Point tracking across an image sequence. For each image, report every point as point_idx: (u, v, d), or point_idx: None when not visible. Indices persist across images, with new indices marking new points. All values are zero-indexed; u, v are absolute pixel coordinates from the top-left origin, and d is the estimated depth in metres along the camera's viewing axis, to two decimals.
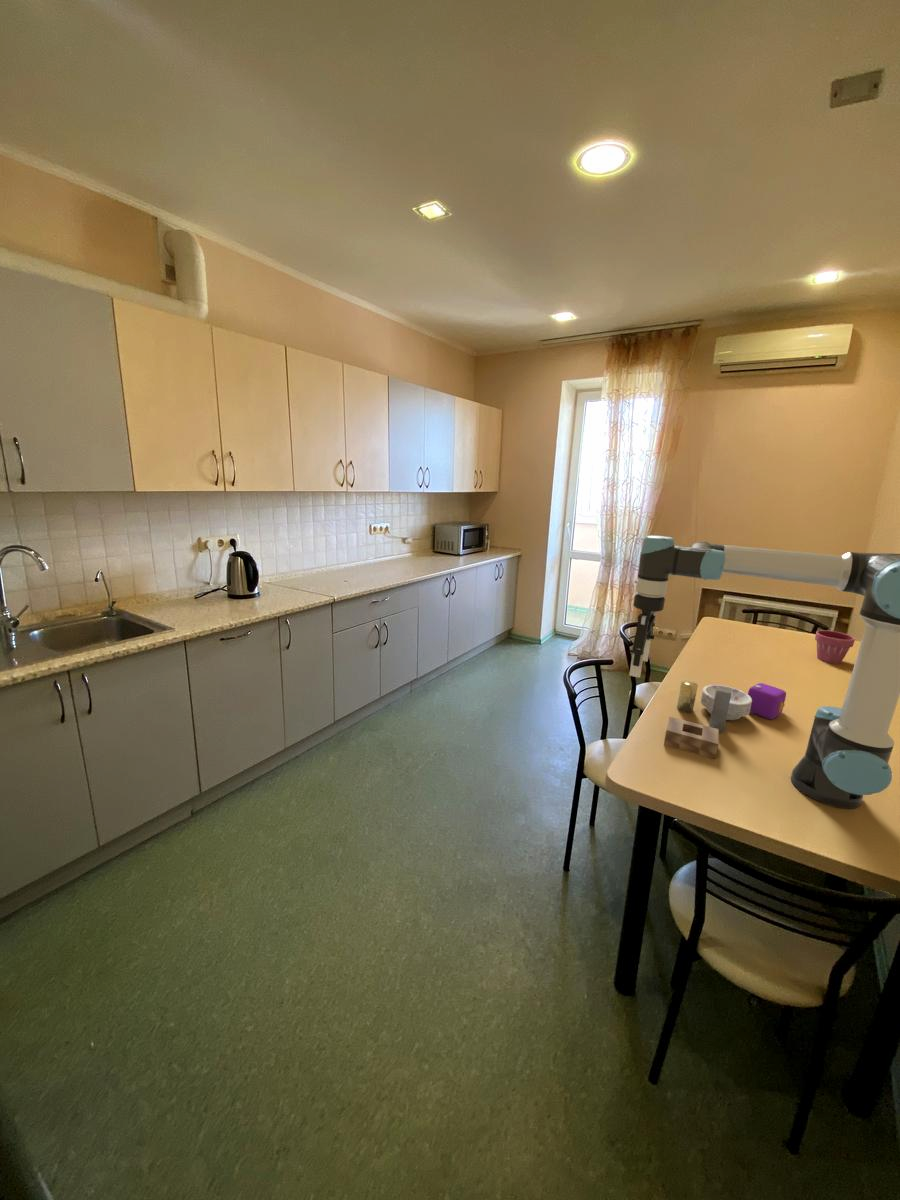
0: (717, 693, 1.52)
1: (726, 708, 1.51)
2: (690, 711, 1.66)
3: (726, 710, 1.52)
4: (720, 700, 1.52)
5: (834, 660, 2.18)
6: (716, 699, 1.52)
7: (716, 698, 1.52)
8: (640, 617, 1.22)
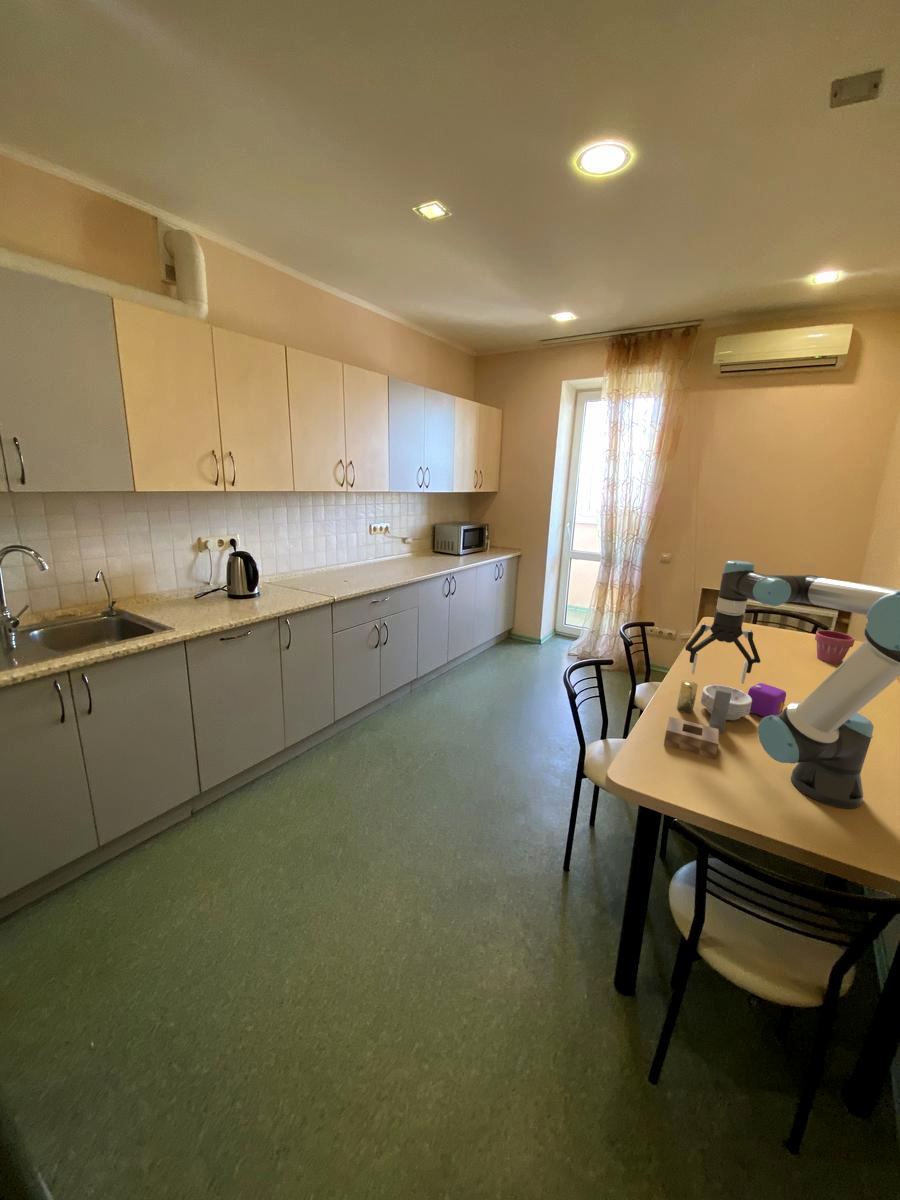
0: (717, 693, 1.52)
1: (726, 708, 1.51)
2: (690, 711, 1.66)
3: (726, 710, 1.52)
4: (720, 700, 1.52)
5: (834, 660, 2.18)
6: (716, 699, 1.52)
7: (716, 698, 1.52)
8: (702, 623, 1.46)
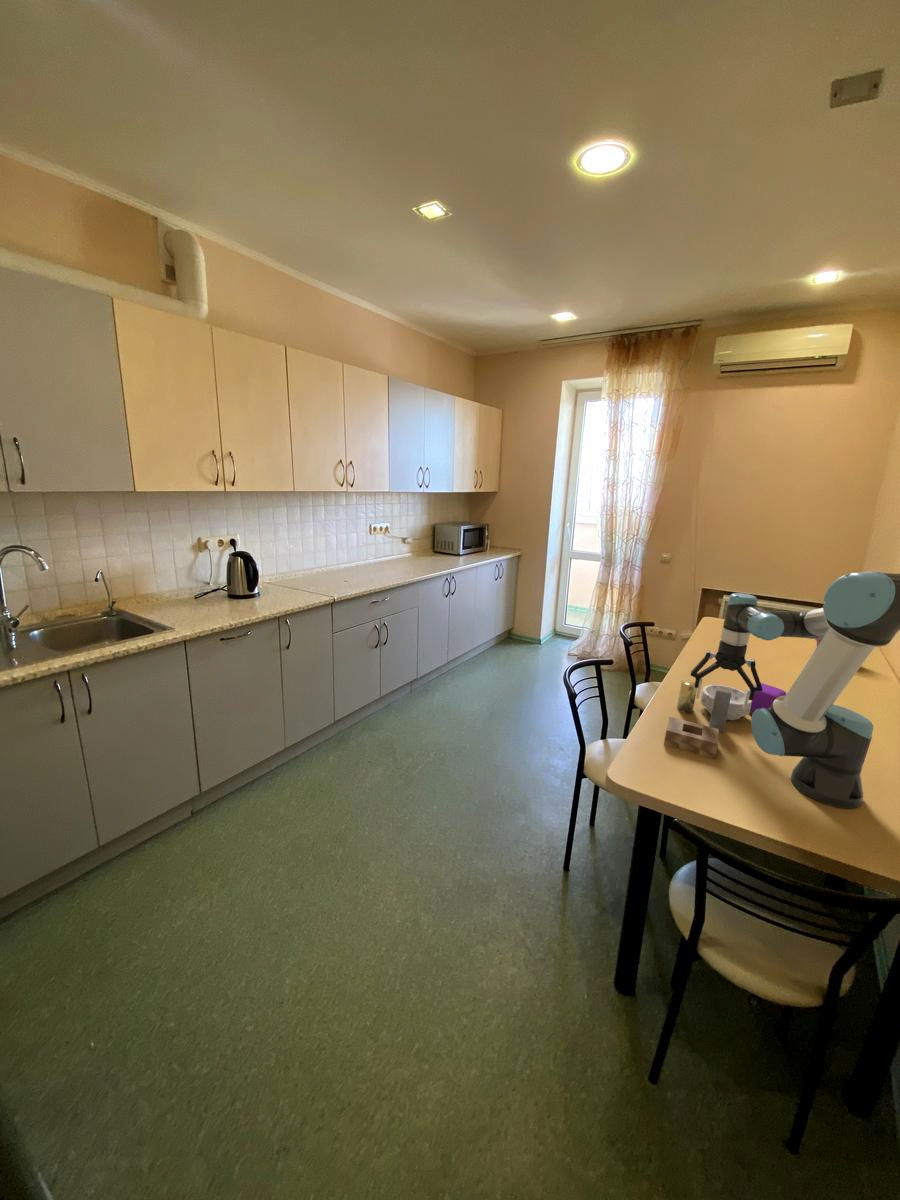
0: (717, 693, 1.52)
1: (726, 708, 1.51)
2: (690, 711, 1.66)
3: (726, 710, 1.52)
4: (720, 700, 1.52)
5: None
6: (716, 699, 1.52)
7: (716, 698, 1.52)
8: (707, 651, 1.53)
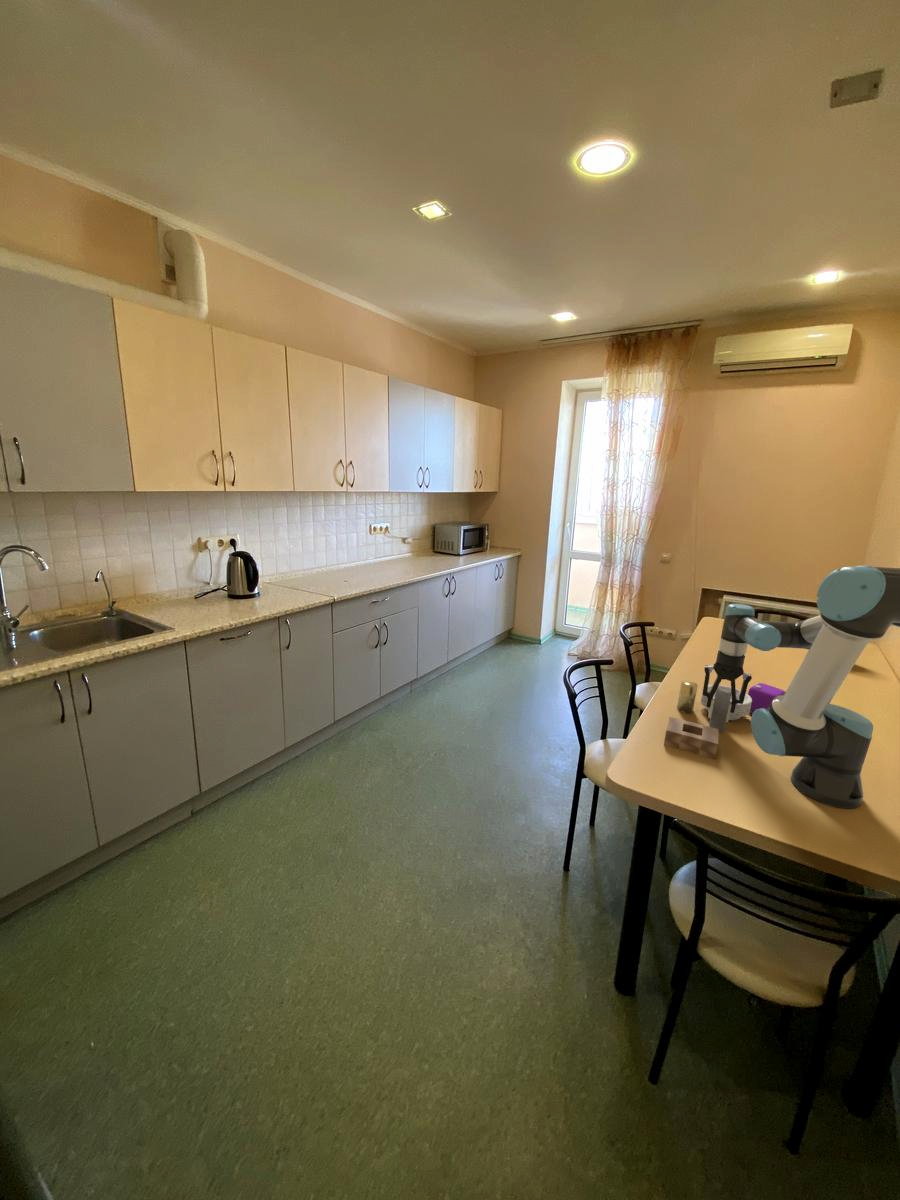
0: (717, 693, 1.52)
1: (726, 708, 1.51)
2: (690, 711, 1.66)
3: (726, 710, 1.52)
4: (720, 700, 1.52)
5: None
6: (716, 699, 1.52)
7: (716, 698, 1.52)
8: None
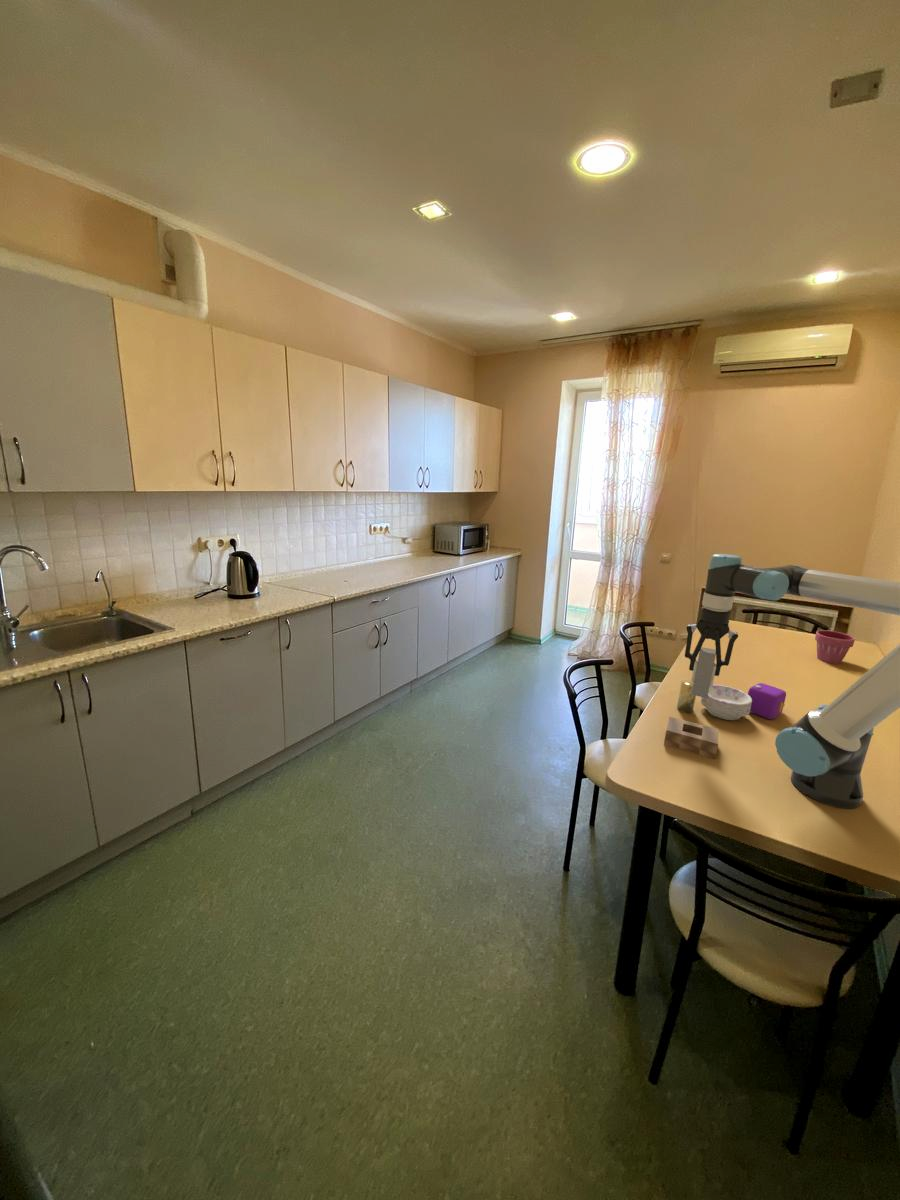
0: (700, 654, 1.38)
1: (710, 670, 1.37)
2: (690, 711, 1.66)
3: (710, 673, 1.37)
4: (703, 662, 1.38)
5: (834, 660, 2.18)
6: (699, 661, 1.38)
7: (700, 660, 1.38)
8: (687, 625, 1.40)
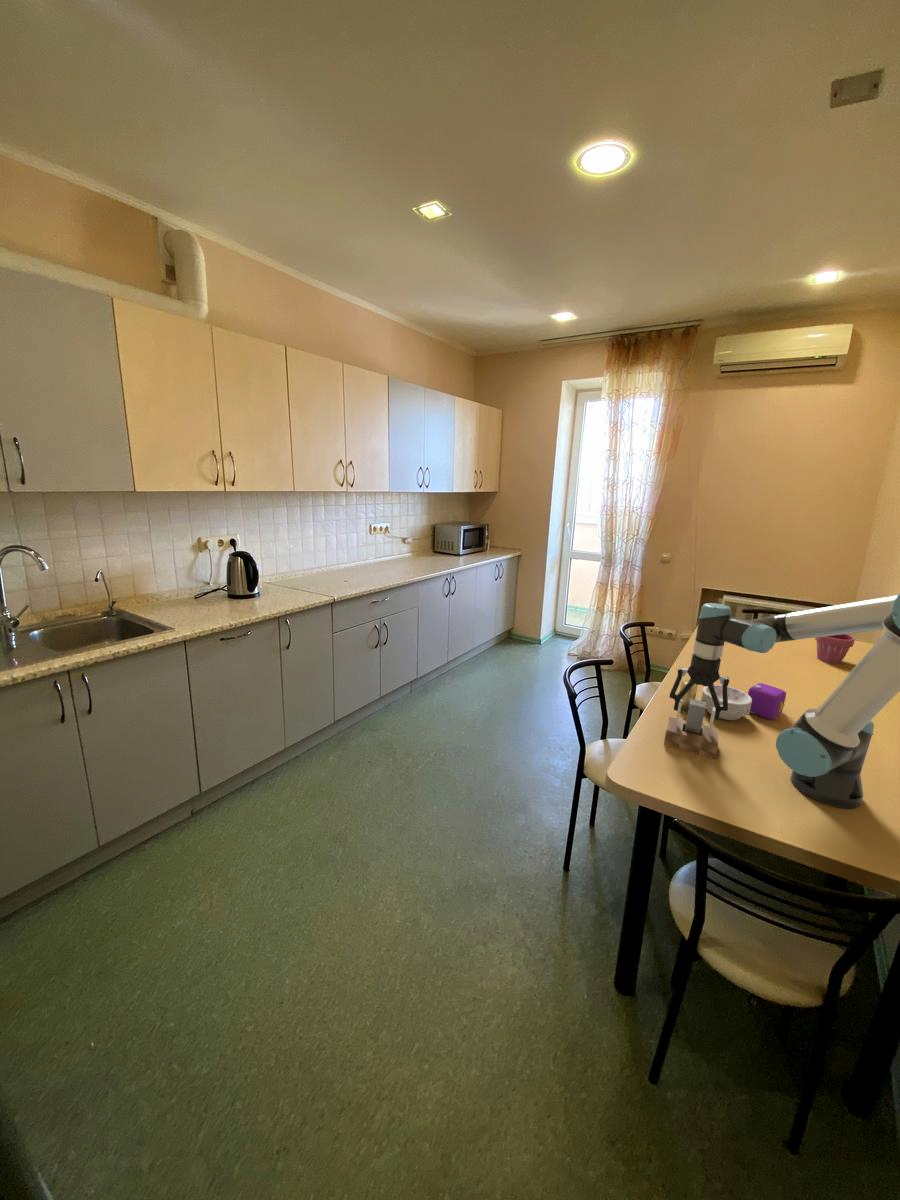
0: (690, 707, 1.42)
1: (700, 723, 1.41)
2: None
3: (700, 725, 1.41)
4: (693, 714, 1.42)
5: (834, 660, 2.18)
6: (689, 713, 1.42)
7: (690, 713, 1.42)
8: (678, 668, 1.44)
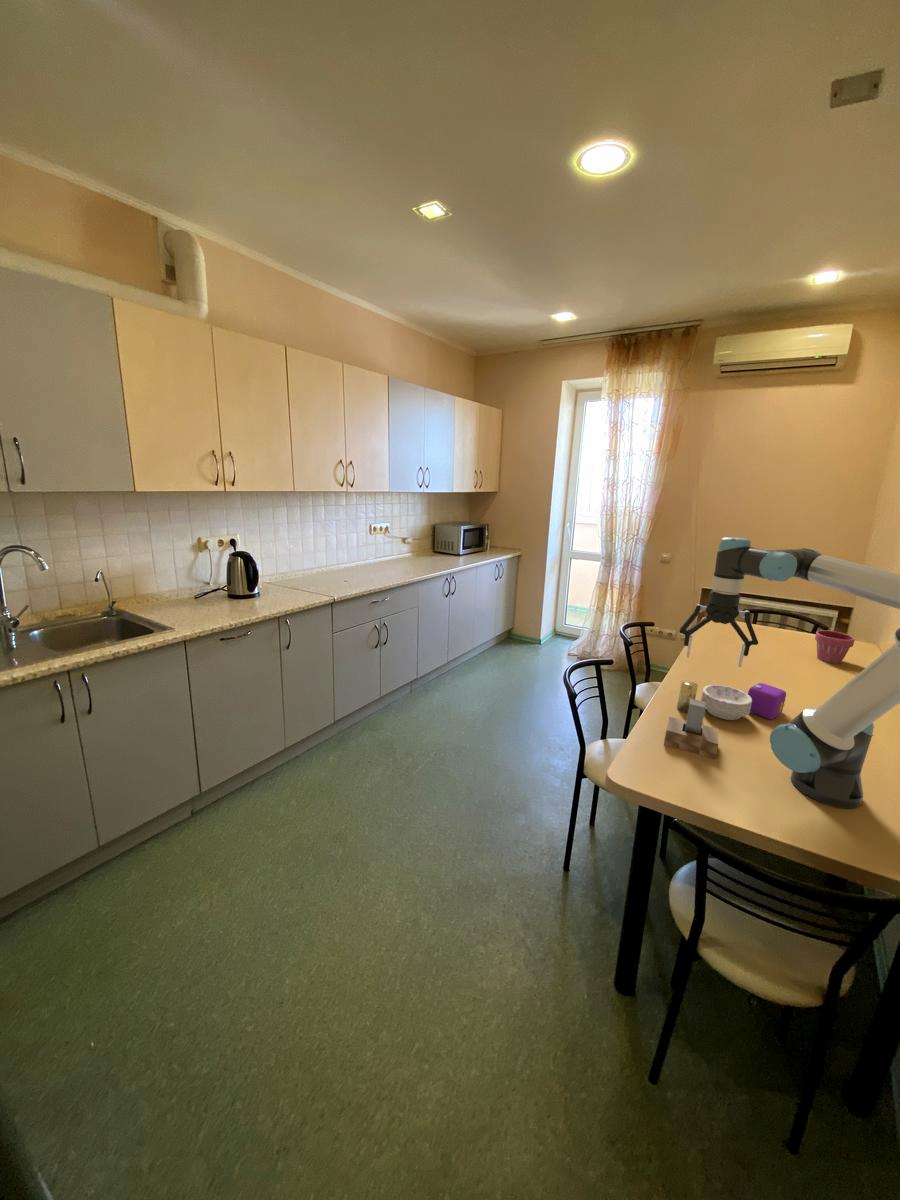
0: (690, 707, 1.42)
1: (700, 723, 1.41)
2: None
3: (700, 725, 1.41)
4: (693, 714, 1.42)
5: (834, 660, 2.18)
6: (689, 713, 1.42)
7: (690, 713, 1.42)
8: (697, 604, 1.40)
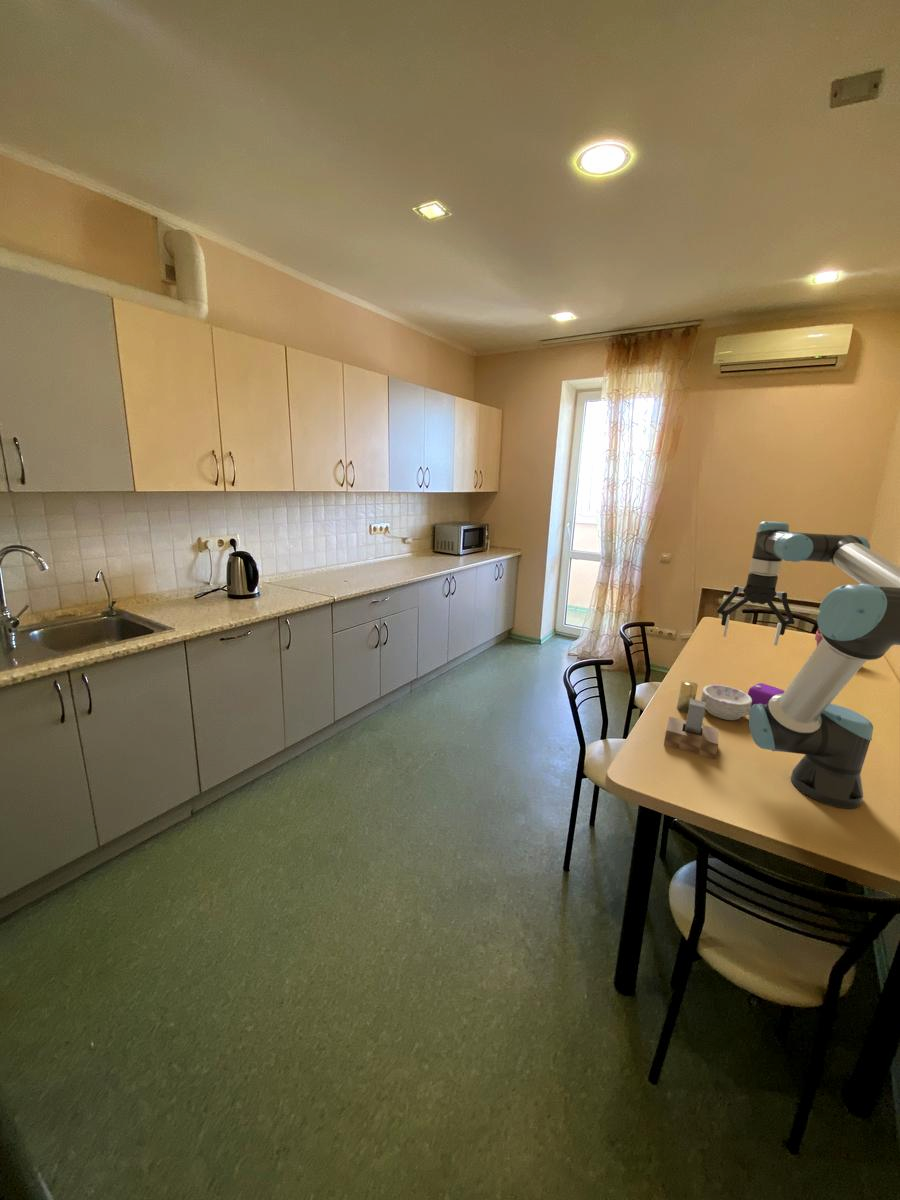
0: (690, 707, 1.42)
1: (700, 723, 1.41)
2: None
3: (700, 725, 1.41)
4: (693, 714, 1.42)
5: None
6: (689, 713, 1.42)
7: (690, 713, 1.42)
8: None
